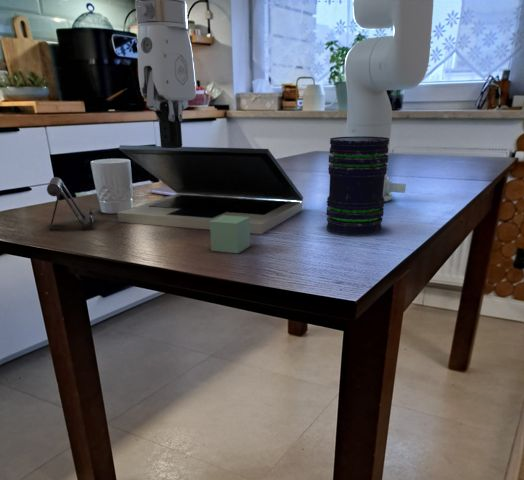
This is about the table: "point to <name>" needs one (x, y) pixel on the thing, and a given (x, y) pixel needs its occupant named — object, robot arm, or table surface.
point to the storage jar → (356, 185)
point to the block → (230, 234)
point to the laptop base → (211, 211)
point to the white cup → (113, 184)
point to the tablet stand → (56, 190)
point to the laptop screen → (216, 171)
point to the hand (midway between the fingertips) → (171, 147)
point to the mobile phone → (165, 191)
